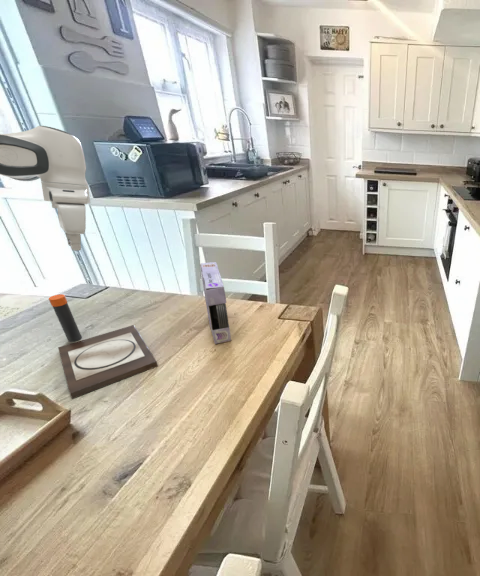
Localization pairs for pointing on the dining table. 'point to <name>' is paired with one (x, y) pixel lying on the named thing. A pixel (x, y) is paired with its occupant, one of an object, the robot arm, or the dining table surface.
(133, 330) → the picture frame
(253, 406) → the dining table surface
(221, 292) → the cake pan box
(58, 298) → the marker
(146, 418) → the dining table surface
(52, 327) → the dining table surface
